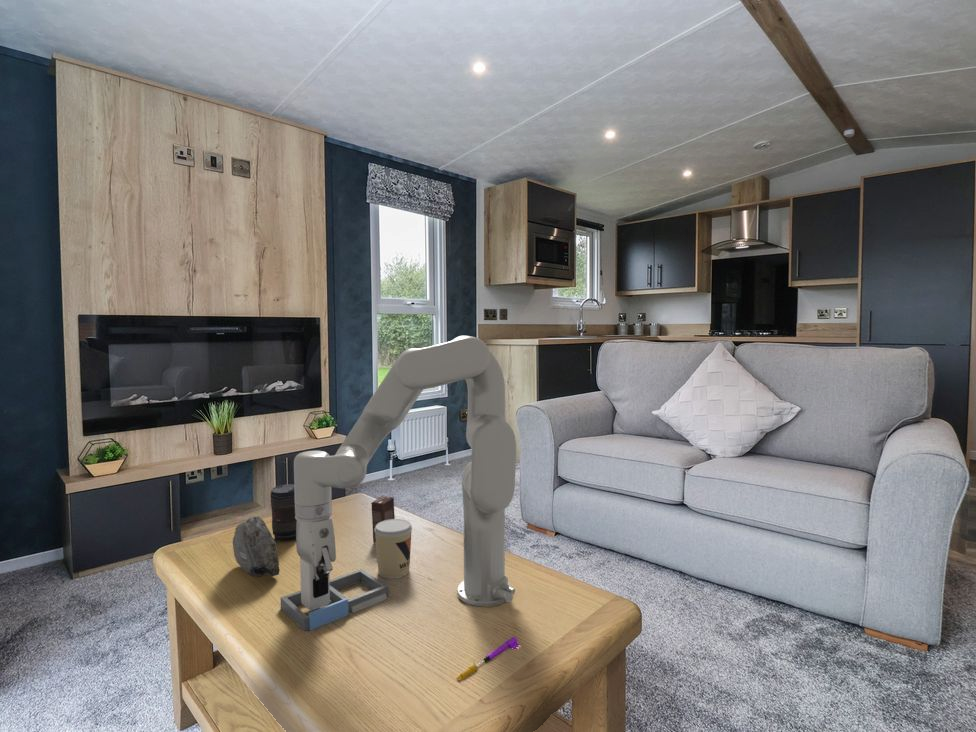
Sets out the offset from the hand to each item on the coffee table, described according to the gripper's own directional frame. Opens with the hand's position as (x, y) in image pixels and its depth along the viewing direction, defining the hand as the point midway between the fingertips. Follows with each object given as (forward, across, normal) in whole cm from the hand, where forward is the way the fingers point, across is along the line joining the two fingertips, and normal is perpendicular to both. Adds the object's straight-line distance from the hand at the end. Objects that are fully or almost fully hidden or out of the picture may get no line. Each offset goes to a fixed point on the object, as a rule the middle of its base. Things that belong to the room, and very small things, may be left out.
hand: (315, 590), depth 114 cm
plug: (+3, 0, 0) cm, 3 cm away
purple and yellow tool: (+5, -39, -16) cm, 43 cm away
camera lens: (+5, +44, -12) cm, 46 cm away
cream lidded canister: (+5, +4, -23) cm, 24 cm away
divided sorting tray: (+5, 0, -5) cm, 7 cm away
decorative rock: (+5, +27, +3) cm, 28 cm away
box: (+5, +23, -32) cm, 39 cm away
